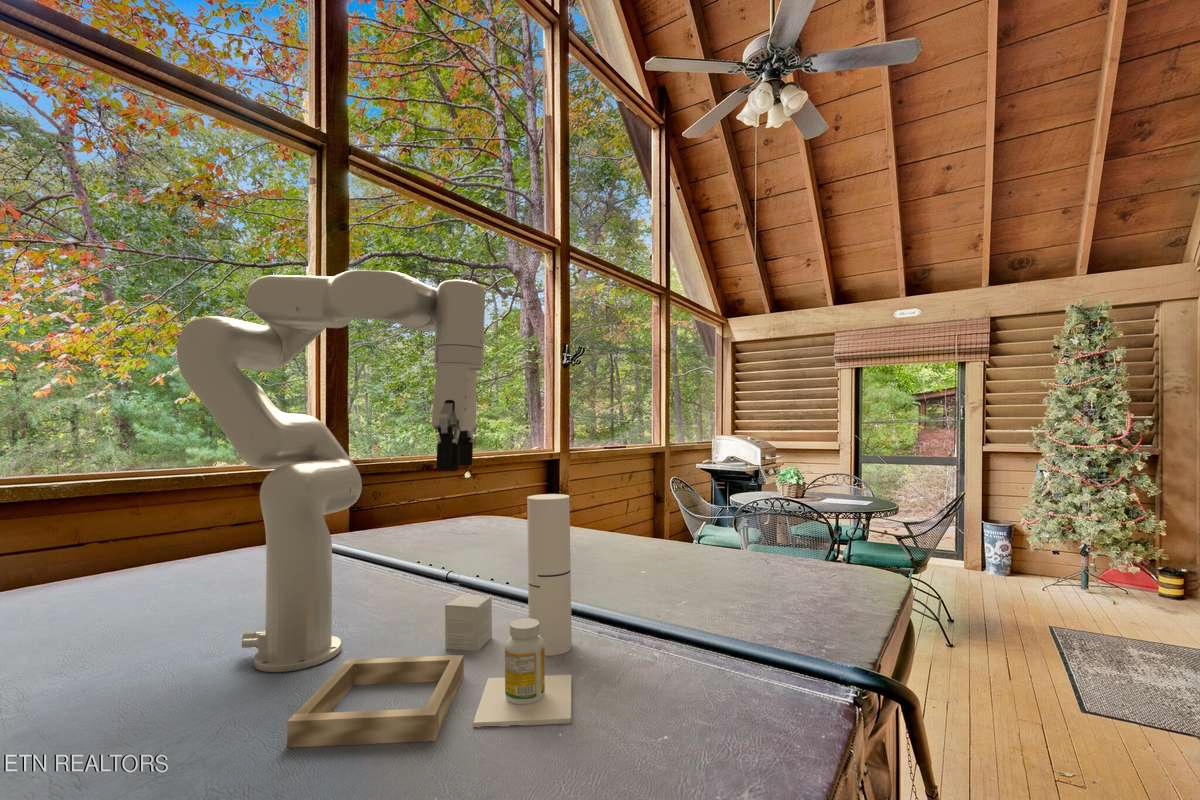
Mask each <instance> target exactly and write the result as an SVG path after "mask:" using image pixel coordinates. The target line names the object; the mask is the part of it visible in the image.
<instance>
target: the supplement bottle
mask: <svg viewBox="0 0 1200 800" xmlns="http://www.w3.org/2000/svg"><path fill="white" fill-rule="evenodd" d="M539 632H540V624H539V621H538V620H535V619H530V618H529V617H528V618H527V617H526V618H518V619H515V620H512V621H510V624H509V635H510V637H509V638H507V640H506V642H505V644H504V677H505V696H506V699H507V700H508V701H509V702H511V703H514V704H519V705H524V704H531V703H534V702H536V701H538V700H540V699H541V698H542V697H543V695H544V692H545V676H546V673H545V670H546V669H545V666H546V665H545V661H546V660H545V657H546V656H545V654H544V650H545V645H544V640H543V639H542V637H541V636H539V635H538V634H539Z"/></svg>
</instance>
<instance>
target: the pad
mask: <svg viewBox="0 0 1200 800" xmlns="http://www.w3.org/2000/svg"><path fill="white" fill-rule="evenodd" d="M560 724H561V725H562V724H565V725H566V724H572V674H557V675H556V674H555V675H554V674H552V675H545V692H544V695H543V697H542V698H541V699H540V700H538V701H536V702H534V703H531V704H524V705H519V704H514V703H511V702H509V701H508V700H507V699H506V696H505V676H504V677H488V678H487V680H486V683H485V687H484V689H483V693H482V696H481V698H480V702H479V705H478V708H477V711H476V714H475V717H474V720H473V722H472V725H473V726H472V728H473V727H477V728H479V727H478V726H499V727H503V726H502V725H521V726H536V725H537V726H538V725H539V726H540V725H560Z"/></svg>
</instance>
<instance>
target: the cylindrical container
mask: <svg viewBox="0 0 1200 800" xmlns="http://www.w3.org/2000/svg"><path fill="white" fill-rule="evenodd" d="M526 501H527V507H526V508H527V519H526V520H527V583H528V585H527V587H528V588H527V592H528V593H527V595H528V598H527V599H528V603H527V604H528V605H527V606H528V607H527V608H528V618H530V619H535V620H538V621H539V624H540V632H539V634H538V635H539V636H541V637H542V639H543V640H544V645H545V650H544V654H545V657H550V656H559V655H563V654H566V653H567V652H569V651H570V650H571V649H572V647H573V646H572V645H573V644H572V641H573V640H572V639H573V636H572V634H573V633H572V583H571V581H572V579H571V577H572V576H571V575H572V574H571V570H572V569H571V520H570V519H571V517H570V516H571V515H570V514H571V513H570V512H571V510H570V509H571V508H570V505H571V504H570V503H571V501H570V495H568V494H563V493H560V494H559V493H546V494H545V493H544V494H542V493H541V494H534V495H529V496H527V497H526Z"/></svg>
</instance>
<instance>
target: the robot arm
mask: <svg viewBox="0 0 1200 800" xmlns="http://www.w3.org/2000/svg"><path fill="white" fill-rule="evenodd" d="M245 299H246V300H245V301H246V304H247V307H248V309H249V310H250V312H251V313H252V314H253V315H254V316H256V317H257V318H258V319H260V320H261V321H263V322H265V323H267V324H266V325H262V324H258V323H253V322H250V321H245V320H241V319H237V318H231V317H226V316H218V315H217V316H215V315H213V316H212V315H211V316H202V317H198V318H194V319H192V320H191V321H190V322H187V324H186V325H185V326H184V327H183V328H182V330H181V332H180V333H179V336H178V339H177V346H176V360H177V365H178V369H179V371H180V374H181V376H182V378H183V380H184V381H185V383H186V385H187V386H188V387H189V389H190V391H192V392H193V393H194V395H195V396H196V397H197V398H198V399H199V401H200V402H201V403H202V404H203V405H204V407H205V408H206V409H207V410H208V412H209V413H210V414H211V415H212V418H213V419H214V420H215V422H216V423H217V425H218V427H219V428H220V429H221V431H222V433H224V435H225V437H226V438H227V440H228V441H229V442H230V444H231V446H232V447H233V448H234V450H235V451H236V453H237V454H238V455H239V456H240V458H241V459H242V460H243V461H244V462H245V463H246V464H247V465H248V466H250V467H252V468H254V469H255V468H256V469H273V470H271V472H269V473H268V474H267V476H266V477H265V478H264V479H263V481H262V484H261V486H260V491H259V503H260V509H261V513H262V518H263V523H264V530H265V547H266V548H265V549H266V550H265V554H266V555H265V564H266V566H265V567H266V568H265V570H266V571H265V574H266V575H265V628H264V630H263V631H258V630H248V631H247V630H246V631H244V633H243V635H242V638H241V640H242V641H241V648H242V649H250V648H256V649H257V652H256V653H255V655H254V657H253V667H254V668H255V669H256V670H258V671H260V672H261V671H262V672H266V673H284V672H286V673H287V672H294V671H298V670H303V669H308V668H311V667H314V666H317V665H320V664H323V663H325V662H327V661H330V660H331V659H333V658H334V657H336V656H337V655H338V654H340V652H341V651H342V648H343V647H342V645H343V644H342V640H341V639H340V638H339V637H337V636H335V635H332V633H333V632H332V619H333V617H332V616H333V614H332V613H333V612H332V611H333V610H332V607H333V606H332V605H333V603H332V602H333V601H332V600H333V599H332V598H333V595H332V594H333V591H332V590H333V545H332V544H333V543H332V537H331V533H330V530H329V527H328V526H327V525H328V524H327V523H326V520H325V518H324V516H326V515H330V514H333V513H338V512H341V511H344V510H347V509H349V508H351V506H353V505H354V504H355V503H357V501H358V500H359V498H360V496H361V493H362V488H363V482H362V481H363V480H362V477H361V474H360V472H359V470H358V468H357V467H356V466H357V465H356V464H355V463H354V462H353V460H352V459H351V458H350V456H349V455H348V454H347V452H346V451H345V450H344V448H343V446H342V445H341V444H340V442H339V440H337V438H336V437H335V436H334V434H333V433H332V432H331V430H330V428H328V426H327V425H325V424H324V423H323V422H322V421H321V420H319V419H318V418H316V417H314V416H312V415H308V414H306V413H305V414H304V413H292V412H291V413H288V412H283V411H282V410H280V409H278V407H277V406H276V405H275V404H274V402H272V401H271V399H270V398H269V397H268V395H267V393H266V392H265V390H264V389H263V388H262V387H261V385H259V384H258V383H257V382H256V381H255V380H253V379H252V377H249V376H248V375H247V374H245V373H244V372H243V371H242V370H246V371H255V372H263V373H265V372H274V371H276V370H278V369H281V368H283V367H284V366H285V365H287V364H289V362H290V361H292V360H293V359H294V358H295V357H296V356H298V355H299V353H301V352H302V351H303V350H304V349H305V348H306V347H307V346H309V345H310V344H311V343H312V342H313V341H315V339H316V338H318V336H319V335H321V334H322V333H323V332H324V330H326V328H329V329H341V328H344V327H346V326H348V325H349V324H350V323H351V322H352V320H353V319H356V320H358V319H359V320H375V321H376V320H378V321H386V322H387V321H388V322H391V323H395V324H398V325H401V326H404V327H407V328H409V329H412V330H415V331H418V332H425V333H426V332H427V333H430V332H434V355H433V357H434V358H433V367H434V369H436V375H435V382H434V392H433V401H432V402H433V404H432V415H431V427H432V429H433V430H434V431H437V432H438V435H437V440H436V441H437V444H436V470H437V471H439V472H440V471H441V472H457V471H459V469H460V467H471V466H472V465H473V457H474V456H473V453H474V450H473V449H474V441H473V440H474V436H473V435H474V434H473V430H474V428H475V427H476V420H477V419H476V418H477V385H478V383H477V372H481V371H483V370H484V347H485V346H484V345H485V343H484V341H485V311H486V310H485V309H486V308H485V307H486V293H485V289H484V287H482V285H481V284H480V283H477V282H474V281H471V280H467V279H448V280H444V281H442V282H440V283H439V284H438V286H437V287H434V286H431V285H428V284H425V283H424V282H422V281H420V280H418V279H416V278H415V277H412V276H410V275H408V274H406V273H402V272H399V271H393V270H372V269H371V270H370V269H369V270H368V269H354V270H353V269H352V270H347V271H344V272H341V273H338V274H336V275H334V276H327V275H325V276H324V275H295V274H294V275H293V274H291V275H288V274H273V275H272V274H271V275H265V276H262V277H259V278H257V279H255V280H253V281H252V282H251V284H249V286H248V287H247V291H246V295H245Z"/></svg>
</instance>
